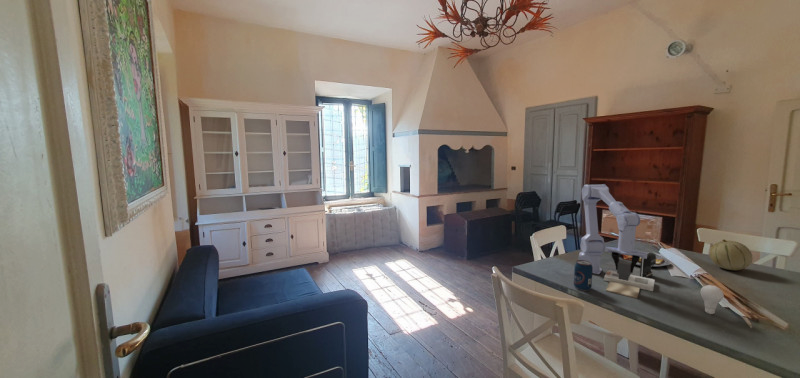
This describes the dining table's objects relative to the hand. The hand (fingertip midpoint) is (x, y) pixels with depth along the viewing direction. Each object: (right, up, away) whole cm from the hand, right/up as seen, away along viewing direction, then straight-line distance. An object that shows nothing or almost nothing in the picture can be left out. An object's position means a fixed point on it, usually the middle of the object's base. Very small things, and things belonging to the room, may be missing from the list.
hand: (624, 270), depth 136 cm
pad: (0, -9, +1) cm, 9 cm away
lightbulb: (+18, -11, -19) cm, 29 cm away
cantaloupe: (+68, -5, +21) cm, 71 cm away
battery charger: (+22, -7, +15) cm, 27 cm away
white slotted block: (+9, -8, +9) cm, 15 cm away
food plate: (+34, -4, +36) cm, 49 cm away
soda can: (-16, -9, +4) cm, 19 cm away
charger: (0, -3, +1) cm, 4 cm away
